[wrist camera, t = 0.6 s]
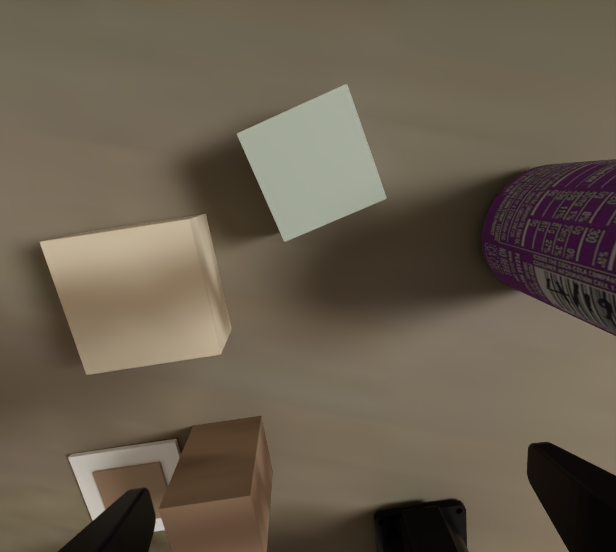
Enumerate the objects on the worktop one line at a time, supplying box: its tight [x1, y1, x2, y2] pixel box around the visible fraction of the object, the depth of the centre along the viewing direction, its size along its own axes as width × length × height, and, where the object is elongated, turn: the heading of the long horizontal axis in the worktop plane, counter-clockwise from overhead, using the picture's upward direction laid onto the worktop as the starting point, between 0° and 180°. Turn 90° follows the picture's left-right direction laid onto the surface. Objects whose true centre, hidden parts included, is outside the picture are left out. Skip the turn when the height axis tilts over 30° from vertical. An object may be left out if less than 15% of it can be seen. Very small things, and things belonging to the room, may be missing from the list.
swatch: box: [68, 439, 181, 531], centre depth 23 cm, size 7×7×1 cm
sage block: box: [237, 84, 387, 242], centre depth 17 cm, size 5×5×4 cm
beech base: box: [40, 214, 232, 375], centre depth 19 cm, size 7×7×4 cm
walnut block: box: [158, 416, 273, 552], centre depth 20 cm, size 4×4×6 cm
